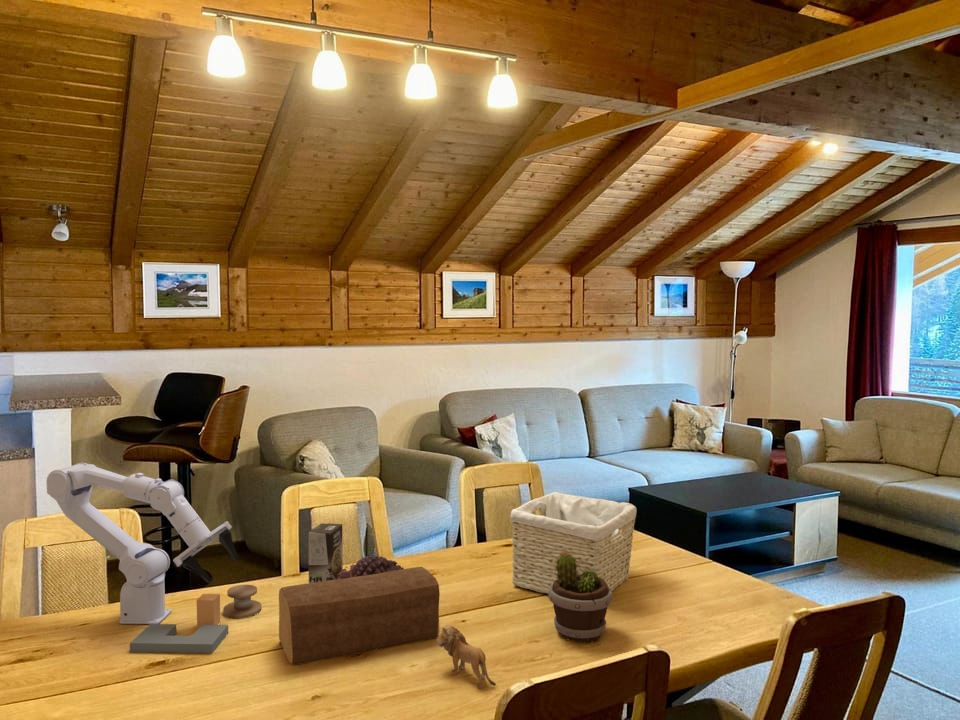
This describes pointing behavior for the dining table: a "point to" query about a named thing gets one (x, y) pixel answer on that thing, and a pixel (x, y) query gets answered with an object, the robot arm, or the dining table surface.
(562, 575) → the flowerpot
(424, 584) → the bread
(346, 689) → the dining table surface
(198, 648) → the notched board
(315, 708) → the dining table surface
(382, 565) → the purple lumpy cluster
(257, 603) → the spool post
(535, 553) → the basket
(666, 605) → the dining table surface
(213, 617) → the copper block
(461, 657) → the lion figurine
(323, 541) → the coffee box
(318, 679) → the dining table surface
